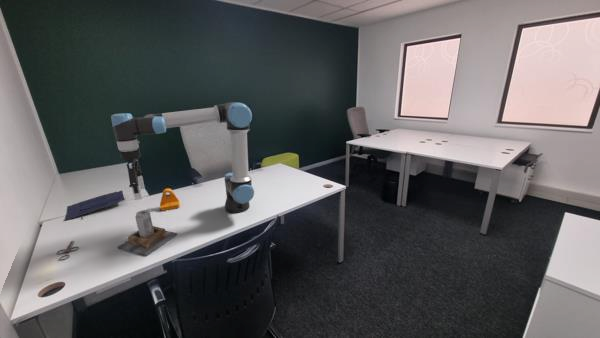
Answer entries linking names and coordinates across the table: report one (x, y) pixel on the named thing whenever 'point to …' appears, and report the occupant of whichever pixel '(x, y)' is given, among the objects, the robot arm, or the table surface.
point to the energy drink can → (144, 224)
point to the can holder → (147, 241)
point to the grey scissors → (67, 250)
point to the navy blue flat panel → (93, 204)
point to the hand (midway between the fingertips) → (140, 193)
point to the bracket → (169, 200)
